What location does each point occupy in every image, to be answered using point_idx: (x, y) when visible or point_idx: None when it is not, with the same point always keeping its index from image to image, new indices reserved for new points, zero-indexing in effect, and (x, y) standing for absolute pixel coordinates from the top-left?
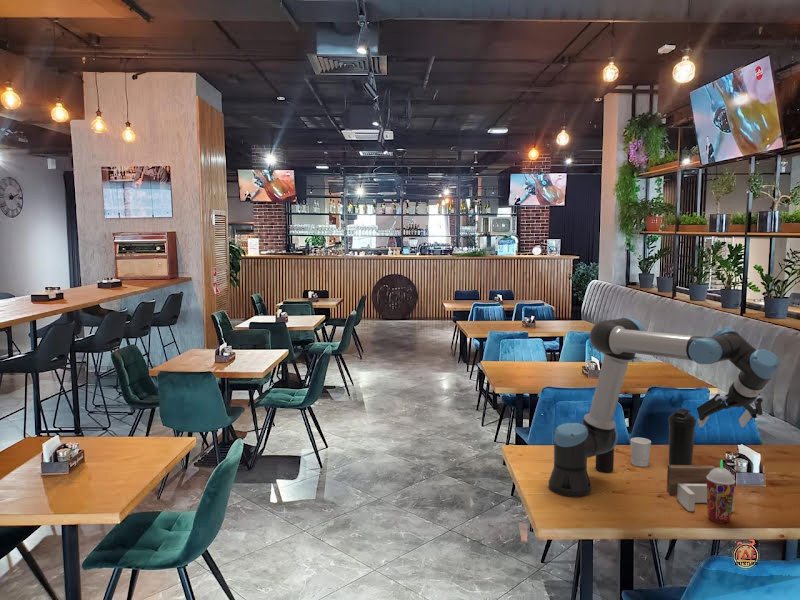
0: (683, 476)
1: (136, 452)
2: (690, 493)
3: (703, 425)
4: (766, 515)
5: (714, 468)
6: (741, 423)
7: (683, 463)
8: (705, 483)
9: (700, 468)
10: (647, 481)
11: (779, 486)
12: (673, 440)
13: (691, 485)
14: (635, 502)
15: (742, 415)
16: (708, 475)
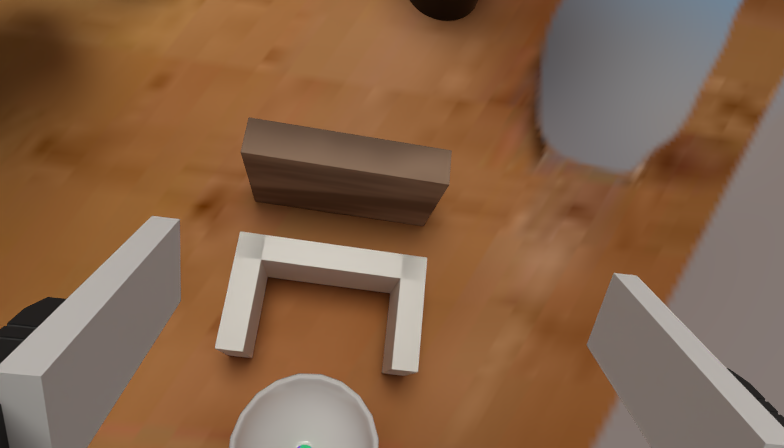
0: (302, 178)
1: None
2: (225, 343)
3: (164, 324)
4: (511, 411)
5: (278, 425)
6: (606, 338)
7: (439, 1)
8: (393, 203)
9: (377, 174)
10: (244, 83)
11: (682, 184)
12: None
13: (288, 258)
14: (66, 250)
15: (667, 344)
16: (243, 426)
